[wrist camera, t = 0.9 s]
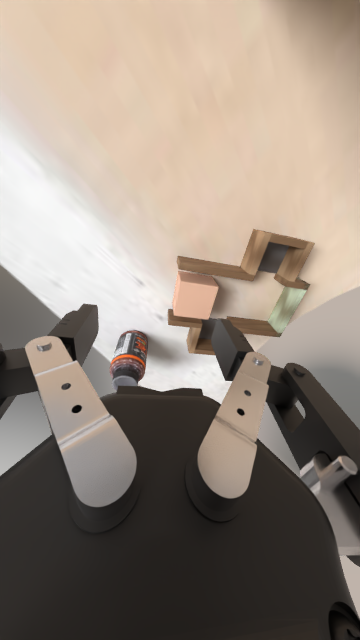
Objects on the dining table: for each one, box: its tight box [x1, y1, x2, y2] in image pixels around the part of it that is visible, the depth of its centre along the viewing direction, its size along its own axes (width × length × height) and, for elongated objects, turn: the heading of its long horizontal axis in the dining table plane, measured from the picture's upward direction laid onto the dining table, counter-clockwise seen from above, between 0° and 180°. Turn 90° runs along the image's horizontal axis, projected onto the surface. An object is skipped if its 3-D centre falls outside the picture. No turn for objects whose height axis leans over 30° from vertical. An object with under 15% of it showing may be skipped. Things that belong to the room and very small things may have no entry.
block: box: [172, 271, 219, 320], centre depth 32 cm, size 6×6×5 cm
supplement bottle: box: [110, 331, 148, 390], centre depth 34 cm, size 6×6×11 cm
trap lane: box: [168, 229, 315, 355], centre depth 34 cm, size 23×22×4 cm
